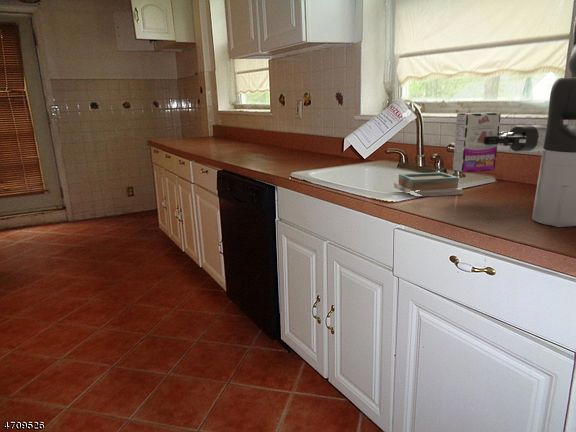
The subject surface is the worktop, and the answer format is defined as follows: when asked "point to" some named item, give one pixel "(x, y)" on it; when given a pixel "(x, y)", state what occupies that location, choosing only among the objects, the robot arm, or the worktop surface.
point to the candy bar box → (475, 142)
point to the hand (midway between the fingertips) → (478, 139)
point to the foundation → (429, 184)
